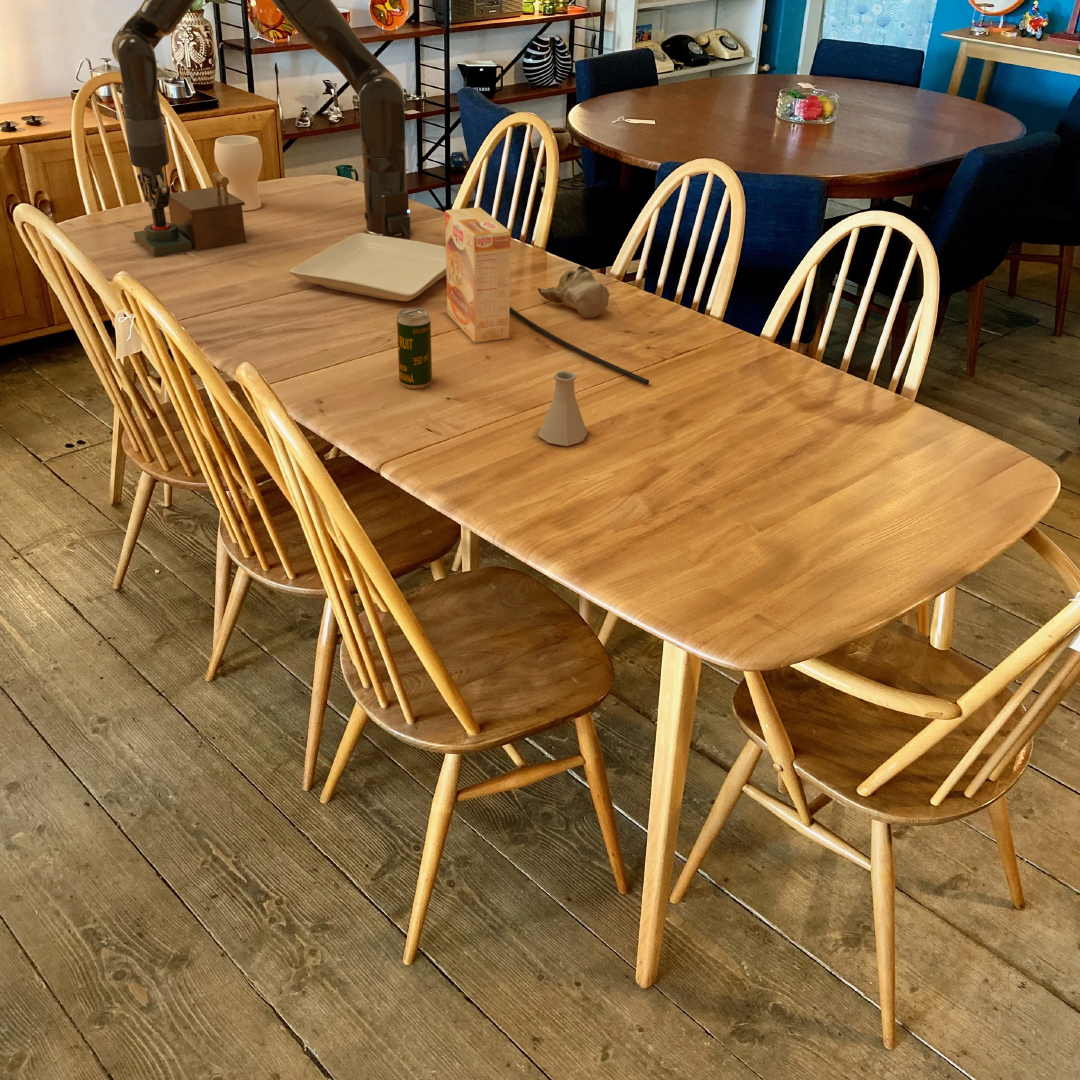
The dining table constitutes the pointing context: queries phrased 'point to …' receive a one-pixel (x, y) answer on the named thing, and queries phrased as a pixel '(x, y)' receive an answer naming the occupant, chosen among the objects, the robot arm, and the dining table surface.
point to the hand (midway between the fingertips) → (160, 225)
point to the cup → (240, 167)
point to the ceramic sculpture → (579, 292)
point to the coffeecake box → (478, 273)
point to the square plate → (376, 266)
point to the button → (161, 227)
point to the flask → (563, 414)
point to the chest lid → (207, 197)
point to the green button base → (163, 241)
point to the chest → (209, 226)
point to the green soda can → (414, 348)
